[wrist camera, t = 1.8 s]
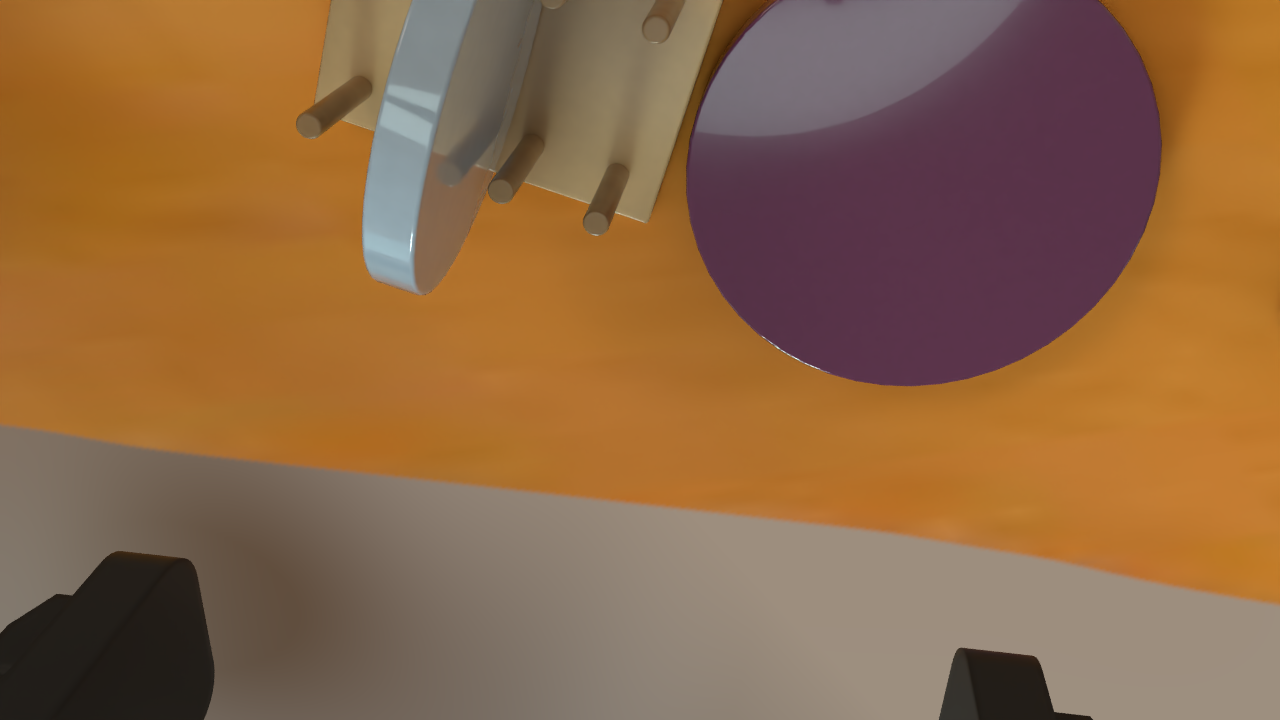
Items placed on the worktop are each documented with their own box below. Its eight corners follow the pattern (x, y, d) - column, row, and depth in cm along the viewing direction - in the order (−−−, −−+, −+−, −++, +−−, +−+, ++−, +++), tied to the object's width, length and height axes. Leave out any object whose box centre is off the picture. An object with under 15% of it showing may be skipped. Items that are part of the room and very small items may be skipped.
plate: (452, 198, 33) (330, 352, 25) (535, -151, 29) (419, -113, 20) (490, 211, 33) (382, 369, 25) (579, -135, 29) (484, -91, 20)
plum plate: (634, 292, 35) (629, 308, 34) (780, -135, 29) (779, -132, 28) (1019, 421, 36) (1025, 440, 35) (1244, 28, 29) (1260, 38, 28)
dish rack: (324, 102, 33) (253, 152, 29) (368, -163, 30) (295, -151, 25) (651, 213, 34) (630, 279, 29) (734, -36, 30) (724, -2, 26)
